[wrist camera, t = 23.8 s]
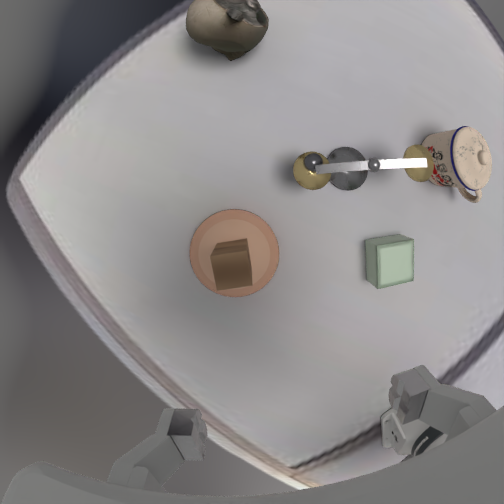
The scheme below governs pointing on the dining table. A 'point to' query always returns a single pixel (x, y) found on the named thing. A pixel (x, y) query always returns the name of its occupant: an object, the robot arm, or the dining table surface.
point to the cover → (389, 260)
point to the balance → (357, 167)
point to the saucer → (229, 229)
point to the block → (231, 264)
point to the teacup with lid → (460, 160)
